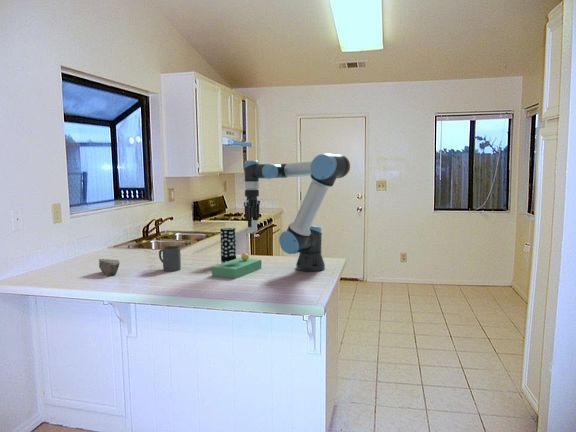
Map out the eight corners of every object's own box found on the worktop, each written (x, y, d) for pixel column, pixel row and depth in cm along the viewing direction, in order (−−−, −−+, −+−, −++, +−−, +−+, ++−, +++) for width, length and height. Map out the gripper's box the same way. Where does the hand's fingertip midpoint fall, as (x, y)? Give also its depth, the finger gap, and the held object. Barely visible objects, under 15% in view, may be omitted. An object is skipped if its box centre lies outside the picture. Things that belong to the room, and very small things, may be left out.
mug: (184, 268, 245) (183, 246, 244) (172, 272, 237) (171, 249, 236) (165, 266, 252) (165, 244, 251) (153, 269, 244) (152, 247, 243)
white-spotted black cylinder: (233, 266, 251) (232, 229, 249) (219, 265, 253) (218, 229, 251) (238, 262, 259) (237, 227, 257) (224, 262, 261) (223, 227, 259)
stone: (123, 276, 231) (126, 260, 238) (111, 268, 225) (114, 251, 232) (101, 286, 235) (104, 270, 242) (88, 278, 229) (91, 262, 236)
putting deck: (261, 268, 245) (261, 259, 244) (235, 278, 223) (235, 269, 222) (239, 266, 251) (239, 257, 251) (212, 275, 229) (211, 266, 228)
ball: (250, 260, 244) (250, 252, 243) (246, 261, 240) (246, 254, 240) (244, 259, 246) (243, 252, 245) (239, 260, 242) (239, 253, 242)
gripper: (253, 188, 255) (254, 230, 258) (237, 190, 241) (238, 234, 243) (265, 188, 252) (266, 231, 254) (249, 190, 237) (250, 235, 240)
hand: (252, 232), depth 249 cm, fingers open, 3 cm apart
